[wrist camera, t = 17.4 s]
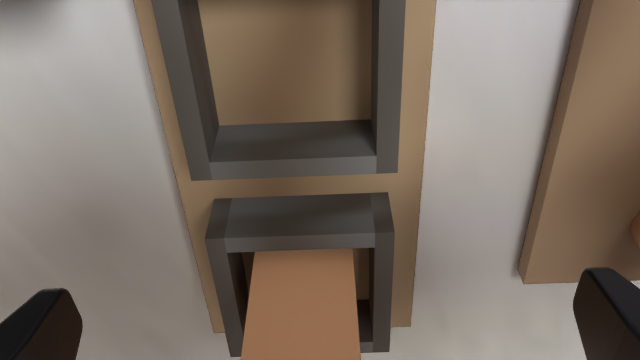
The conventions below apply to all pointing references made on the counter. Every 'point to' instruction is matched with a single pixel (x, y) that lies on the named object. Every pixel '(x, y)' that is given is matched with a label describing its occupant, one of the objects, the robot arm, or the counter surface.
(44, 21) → the counter surface
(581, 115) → the plate
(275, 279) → the tan rectangular block
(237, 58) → the socket board
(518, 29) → the counter surface
